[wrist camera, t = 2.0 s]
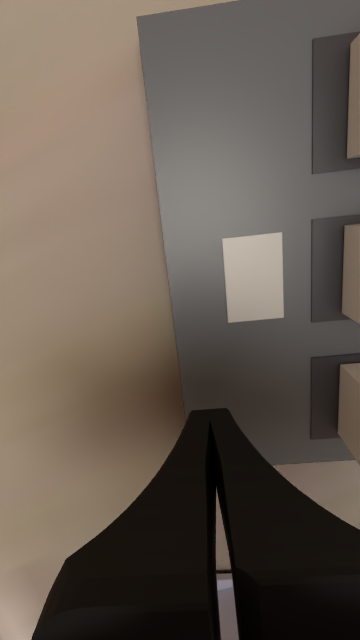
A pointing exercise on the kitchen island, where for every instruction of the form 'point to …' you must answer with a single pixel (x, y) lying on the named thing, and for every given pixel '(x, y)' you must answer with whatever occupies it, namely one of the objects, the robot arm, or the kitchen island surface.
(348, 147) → the cream squarish block
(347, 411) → the beige block
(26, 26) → the kitchen island surface
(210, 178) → the switch bank
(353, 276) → the tab
